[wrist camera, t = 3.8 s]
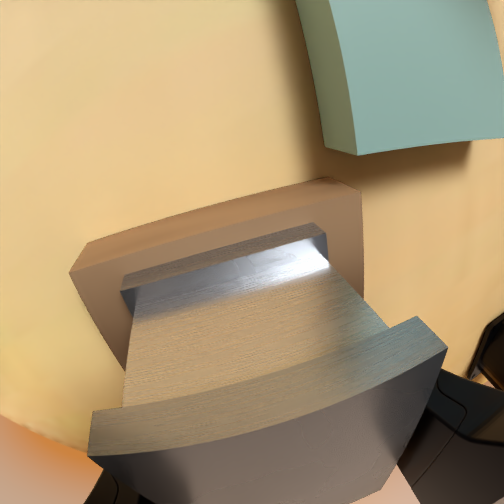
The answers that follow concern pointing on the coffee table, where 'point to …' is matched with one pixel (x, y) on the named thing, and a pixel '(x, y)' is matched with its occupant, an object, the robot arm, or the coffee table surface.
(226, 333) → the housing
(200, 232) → the brown flat square block
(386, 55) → the stand
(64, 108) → the coffee table surface
